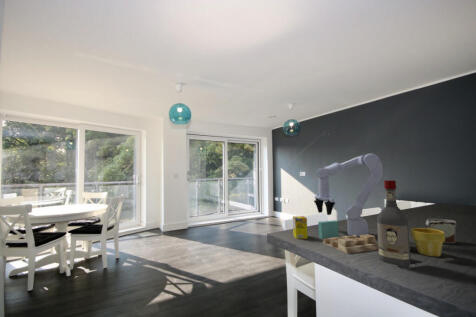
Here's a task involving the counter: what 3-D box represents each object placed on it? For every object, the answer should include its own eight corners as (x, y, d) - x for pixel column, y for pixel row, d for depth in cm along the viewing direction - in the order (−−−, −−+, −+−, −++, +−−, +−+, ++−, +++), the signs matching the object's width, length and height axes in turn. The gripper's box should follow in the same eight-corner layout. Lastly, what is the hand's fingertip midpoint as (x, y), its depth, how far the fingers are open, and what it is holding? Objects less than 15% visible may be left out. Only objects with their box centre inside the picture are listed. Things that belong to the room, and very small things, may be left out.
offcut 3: (368, 244, 103) (367, 234, 103) (375, 247, 99) (375, 236, 99) (360, 245, 101) (359, 235, 102) (367, 248, 98) (367, 237, 98)
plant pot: (410, 249, 98) (408, 226, 98) (441, 253, 93) (439, 228, 94) (415, 257, 88) (413, 232, 89) (450, 262, 84) (448, 234, 84)
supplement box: (307, 240, 114) (307, 218, 115) (295, 240, 114) (295, 218, 115) (304, 237, 120) (303, 215, 121) (293, 237, 120) (292, 216, 121)
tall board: (335, 236, 119) (334, 220, 119) (338, 237, 116) (338, 221, 117) (318, 237, 116) (318, 221, 116) (322, 239, 113) (321, 222, 114)
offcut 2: (358, 245, 101) (357, 237, 101) (365, 248, 97) (365, 240, 97) (348, 247, 100) (348, 238, 100) (356, 249, 96) (355, 241, 96)
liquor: (382, 256, 91) (377, 180, 93) (411, 261, 85) (405, 180, 87) (378, 263, 83) (373, 180, 86) (409, 269, 78) (403, 181, 80)
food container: (447, 239, 112) (446, 218, 113) (458, 243, 106) (456, 221, 106) (420, 239, 113) (419, 218, 114) (429, 242, 107) (428, 221, 108)
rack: (353, 240, 112) (353, 234, 112) (382, 251, 97) (382, 243, 97) (322, 244, 107) (321, 238, 107) (347, 256, 91) (347, 248, 92)
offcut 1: (346, 247, 99) (346, 237, 100) (353, 250, 95) (353, 240, 96) (338, 248, 98) (337, 238, 98) (345, 251, 94) (344, 241, 94)
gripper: (310, 188, 136) (310, 211, 135) (326, 190, 122) (327, 216, 121) (320, 188, 138) (321, 211, 137) (337, 190, 124) (338, 215, 123)
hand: (324, 213), depth 129 cm, fingers open, 7 cm apart
